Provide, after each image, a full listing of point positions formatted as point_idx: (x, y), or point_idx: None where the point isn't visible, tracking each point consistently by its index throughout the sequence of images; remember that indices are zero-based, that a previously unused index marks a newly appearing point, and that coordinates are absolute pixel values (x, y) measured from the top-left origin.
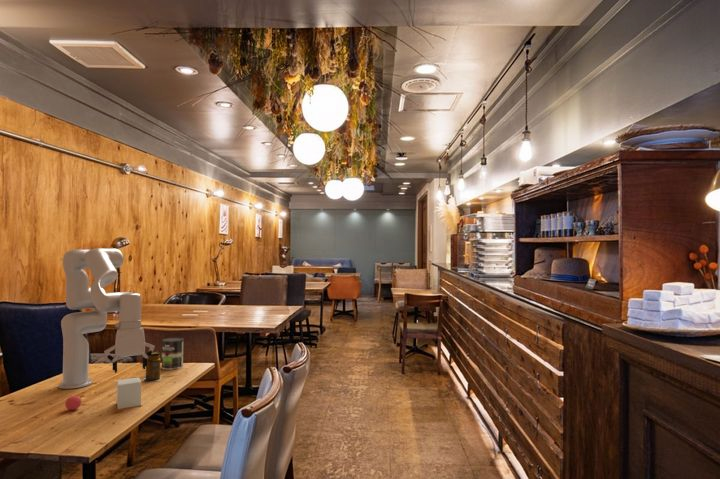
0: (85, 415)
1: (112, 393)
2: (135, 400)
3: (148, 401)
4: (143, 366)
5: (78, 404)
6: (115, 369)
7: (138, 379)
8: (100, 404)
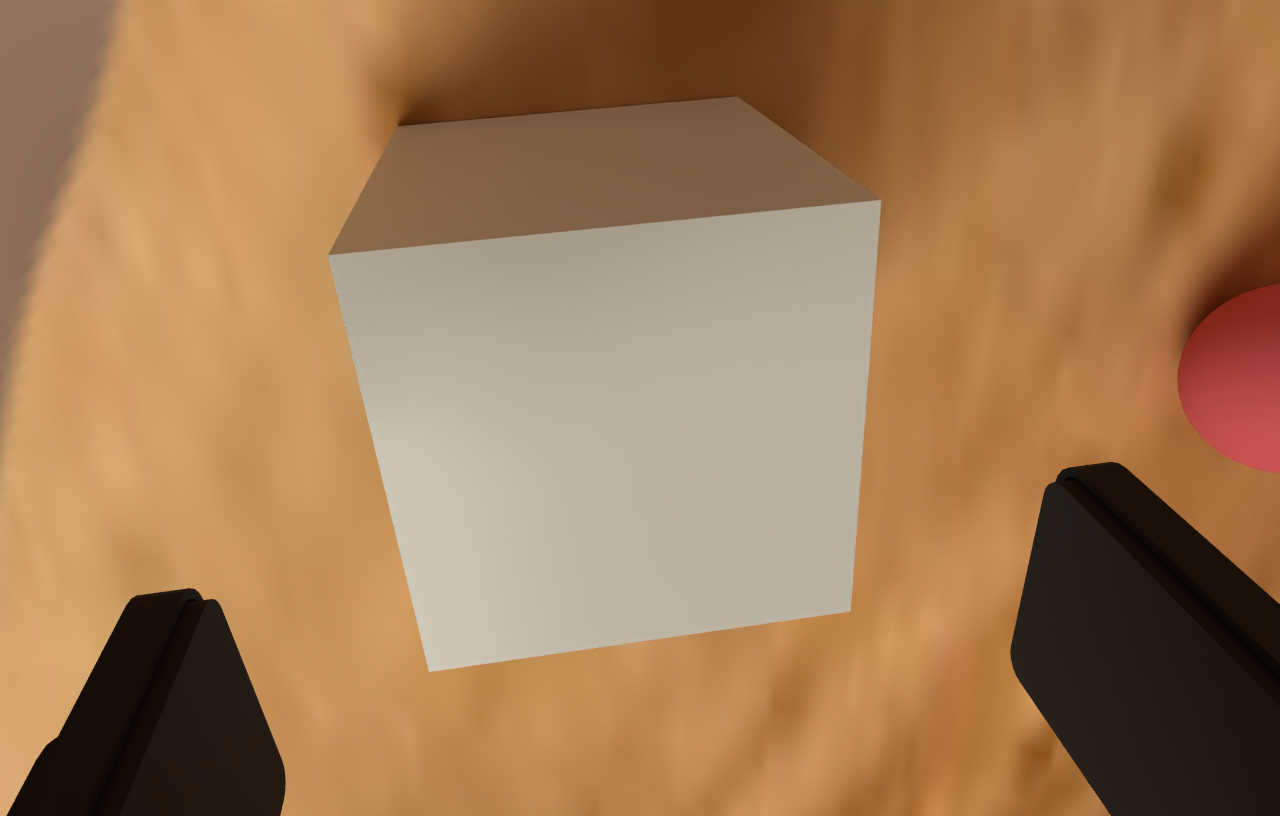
0: (1167, 2)
1: (763, 751)
2: (479, 139)
3: (298, 292)
4: (174, 657)
5: (1242, 313)
6: (1169, 524)
7: (429, 519)
8: (923, 420)
